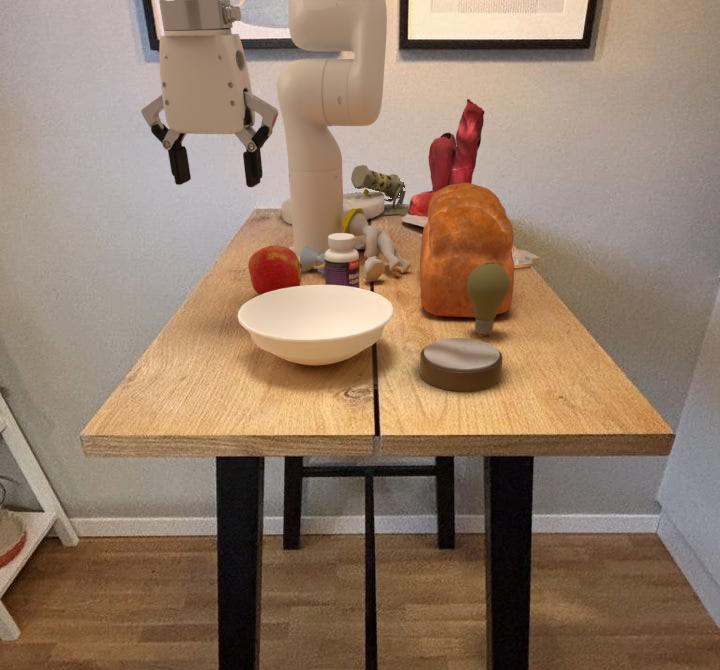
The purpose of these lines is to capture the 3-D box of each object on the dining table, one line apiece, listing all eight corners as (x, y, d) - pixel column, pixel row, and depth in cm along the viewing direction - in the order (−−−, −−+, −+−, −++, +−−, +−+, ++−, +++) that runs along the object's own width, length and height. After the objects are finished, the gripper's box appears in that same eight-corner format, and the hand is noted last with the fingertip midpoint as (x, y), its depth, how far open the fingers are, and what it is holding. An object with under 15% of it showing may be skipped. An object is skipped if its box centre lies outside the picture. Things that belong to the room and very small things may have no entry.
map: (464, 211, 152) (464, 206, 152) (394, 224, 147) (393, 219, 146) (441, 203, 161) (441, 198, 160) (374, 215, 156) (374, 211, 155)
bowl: (228, 340, 91) (222, 295, 88) (360, 319, 97) (359, 276, 94) (265, 402, 76) (259, 350, 73) (418, 372, 82) (420, 324, 78)
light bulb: (479, 324, 95) (485, 254, 89) (511, 334, 92) (520, 262, 86) (454, 335, 92) (460, 263, 86) (487, 346, 89) (495, 272, 83)
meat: (454, 242, 128) (418, 107, 122) (399, 264, 150) (366, 150, 143) (543, 214, 136) (514, 85, 129) (478, 239, 157) (450, 129, 151)
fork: (325, 218, 138) (326, 232, 139) (366, 241, 122) (366, 256, 123) (338, 217, 138) (338, 231, 140) (380, 240, 123) (380, 255, 124)
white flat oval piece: (257, 219, 150) (256, 206, 148) (334, 196, 168) (333, 184, 166) (334, 231, 138) (333, 217, 136) (407, 205, 156) (407, 192, 155)
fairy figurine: (294, 239, 122) (352, 237, 117) (298, 265, 124) (355, 264, 119) (261, 256, 113) (322, 254, 108) (267, 283, 116) (327, 283, 111)
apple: (298, 306, 102) (295, 254, 98) (245, 306, 103) (239, 254, 98) (305, 289, 109) (302, 240, 104) (255, 289, 109) (250, 240, 105)
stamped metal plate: (538, 265, 118) (540, 257, 117) (504, 270, 116) (505, 261, 115) (516, 253, 124) (517, 245, 123) (483, 257, 122) (484, 249, 122)
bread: (418, 319, 96) (423, 208, 88) (419, 265, 118) (422, 172, 109) (514, 321, 95) (528, 209, 87) (497, 266, 117) (506, 172, 108)
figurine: (371, 303, 117) (324, 248, 122) (412, 274, 117) (364, 220, 122) (363, 271, 107) (313, 212, 112) (408, 239, 108) (357, 182, 112)
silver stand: (425, 354, 87) (426, 334, 85) (502, 360, 85) (504, 339, 83) (414, 387, 79) (415, 366, 77) (498, 395, 77) (501, 373, 75)
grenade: (354, 160, 148) (398, 173, 158) (344, 190, 151) (388, 201, 162) (374, 171, 144) (418, 184, 154) (363, 202, 147) (407, 212, 158)
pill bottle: (355, 305, 102) (354, 241, 97) (322, 303, 103) (319, 239, 98) (362, 294, 107) (362, 232, 101) (330, 292, 108) (328, 230, 102)
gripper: (280, 18, 75) (292, 179, 85) (143, 20, 78) (169, 175, 88) (256, 19, 69) (272, 192, 79) (109, 21, 72) (142, 188, 82)
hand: (218, 183), depth 83 cm, fingers open, 9 cm apart
